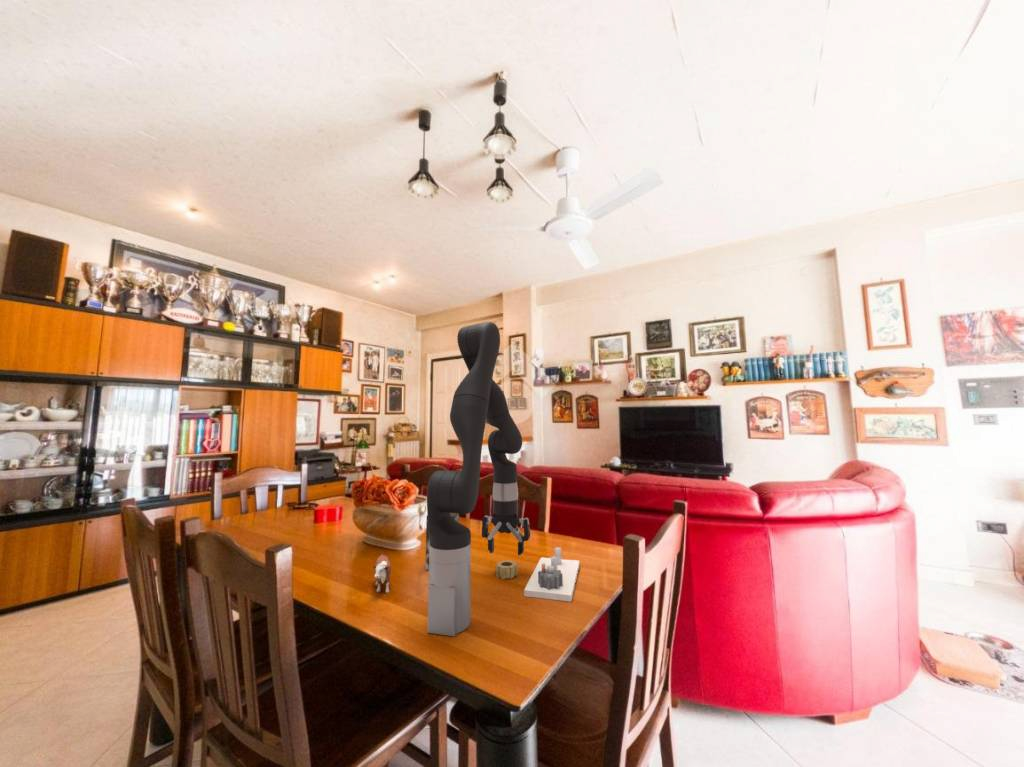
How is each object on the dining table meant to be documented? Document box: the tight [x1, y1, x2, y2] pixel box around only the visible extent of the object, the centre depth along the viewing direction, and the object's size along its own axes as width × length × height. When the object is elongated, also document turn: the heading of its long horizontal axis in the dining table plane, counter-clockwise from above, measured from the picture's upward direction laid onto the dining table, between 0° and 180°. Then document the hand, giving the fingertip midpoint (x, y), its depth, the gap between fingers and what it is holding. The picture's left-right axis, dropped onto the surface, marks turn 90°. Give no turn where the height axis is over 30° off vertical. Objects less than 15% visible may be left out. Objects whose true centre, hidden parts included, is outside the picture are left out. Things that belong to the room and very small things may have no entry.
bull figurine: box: [373, 554, 392, 594], centre depth 102 cm, size 4×13×8 cm, turn 15°
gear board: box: [523, 546, 581, 603], centre depth 107 cm, size 24×12×6 cm, turn 165°
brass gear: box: [495, 559, 519, 580], centre depth 111 cm, size 6×6×3 cm
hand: (505, 553), depth 112 cm, fingers open, 8 cm apart
